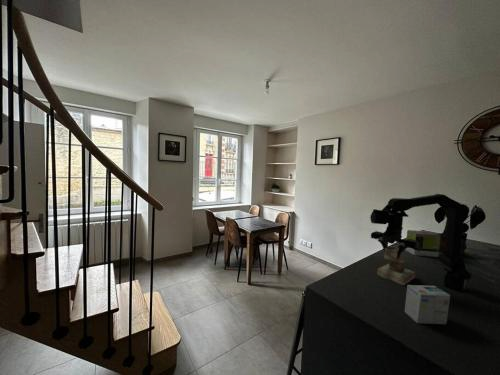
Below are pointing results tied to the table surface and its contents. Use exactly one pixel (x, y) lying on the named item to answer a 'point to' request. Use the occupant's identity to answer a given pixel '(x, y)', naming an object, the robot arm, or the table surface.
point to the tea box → (424, 243)
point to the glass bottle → (444, 240)
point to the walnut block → (397, 266)
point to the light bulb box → (427, 304)
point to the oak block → (391, 253)
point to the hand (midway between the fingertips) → (391, 256)
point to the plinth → (396, 275)
